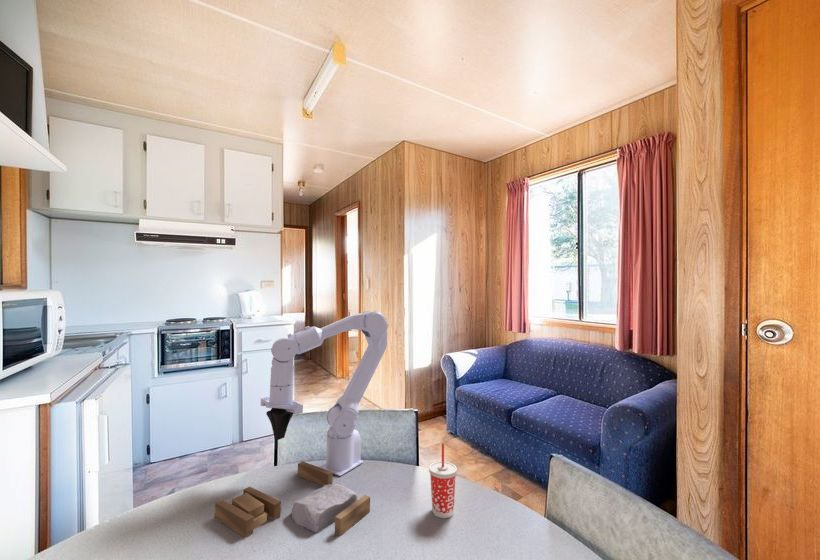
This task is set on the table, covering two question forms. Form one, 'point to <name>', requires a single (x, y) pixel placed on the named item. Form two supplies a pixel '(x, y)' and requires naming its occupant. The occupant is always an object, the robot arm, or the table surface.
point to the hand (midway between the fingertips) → (279, 438)
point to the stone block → (322, 506)
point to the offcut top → (249, 505)
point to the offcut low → (260, 520)
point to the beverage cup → (443, 487)
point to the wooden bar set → (272, 506)
